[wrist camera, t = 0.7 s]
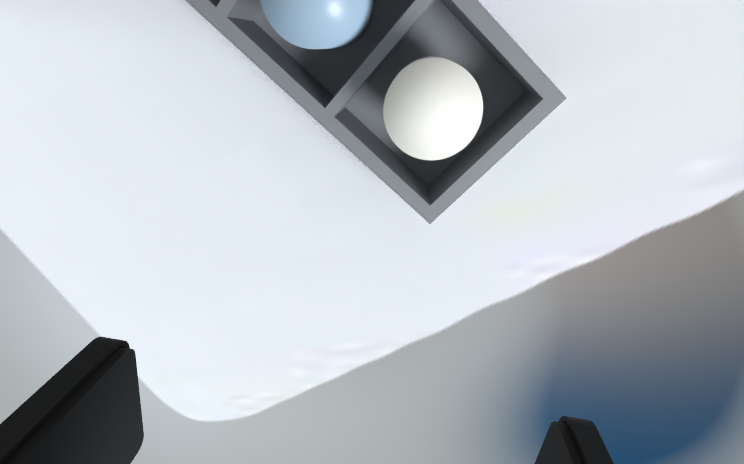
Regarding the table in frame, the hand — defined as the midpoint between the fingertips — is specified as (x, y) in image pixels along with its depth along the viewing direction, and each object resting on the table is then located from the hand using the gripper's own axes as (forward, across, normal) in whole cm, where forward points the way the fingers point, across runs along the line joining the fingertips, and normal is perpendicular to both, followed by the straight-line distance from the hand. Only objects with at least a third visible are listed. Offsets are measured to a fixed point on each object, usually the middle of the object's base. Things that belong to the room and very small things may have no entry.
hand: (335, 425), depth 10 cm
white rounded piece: (+24, -2, -5) cm, 25 cm away
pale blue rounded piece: (+24, +5, -10) cm, 27 cm away
